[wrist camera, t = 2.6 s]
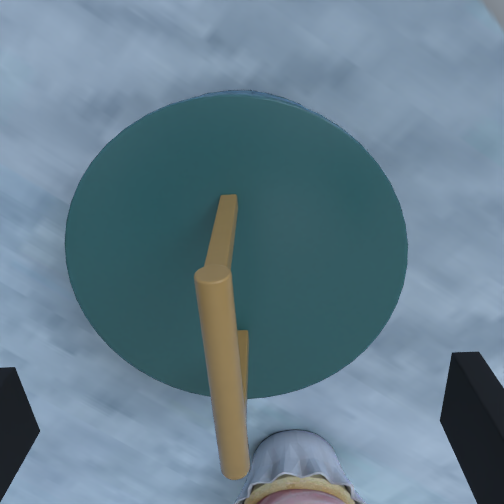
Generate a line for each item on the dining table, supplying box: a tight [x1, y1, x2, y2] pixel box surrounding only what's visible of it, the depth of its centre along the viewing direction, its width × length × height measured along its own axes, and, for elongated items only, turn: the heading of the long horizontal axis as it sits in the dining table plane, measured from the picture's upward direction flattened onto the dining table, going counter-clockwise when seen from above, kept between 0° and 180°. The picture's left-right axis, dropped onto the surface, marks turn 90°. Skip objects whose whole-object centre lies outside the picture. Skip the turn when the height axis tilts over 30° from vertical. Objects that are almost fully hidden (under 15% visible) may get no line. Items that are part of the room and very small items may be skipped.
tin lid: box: [65, 94, 408, 480], centre depth 17 cm, size 16×16×9 cm
